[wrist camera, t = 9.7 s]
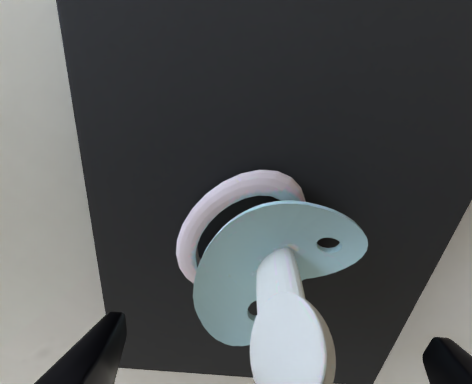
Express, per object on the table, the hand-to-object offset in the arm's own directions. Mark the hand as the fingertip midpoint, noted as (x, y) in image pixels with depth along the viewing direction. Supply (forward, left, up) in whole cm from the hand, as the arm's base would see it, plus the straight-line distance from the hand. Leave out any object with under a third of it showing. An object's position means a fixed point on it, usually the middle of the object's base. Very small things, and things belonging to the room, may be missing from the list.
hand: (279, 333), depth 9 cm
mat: (0, 0, -5) cm, 5 cm away
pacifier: (+1, 0, -5) cm, 5 cm away
